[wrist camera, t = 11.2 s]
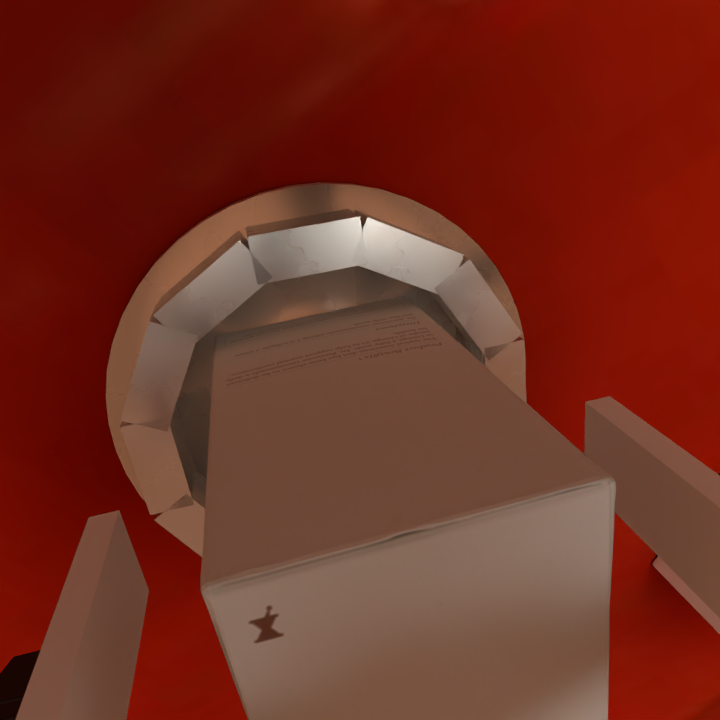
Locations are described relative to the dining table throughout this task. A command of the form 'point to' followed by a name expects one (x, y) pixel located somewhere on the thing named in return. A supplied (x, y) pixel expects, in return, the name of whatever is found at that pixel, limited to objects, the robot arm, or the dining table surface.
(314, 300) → the silver round shallow dish
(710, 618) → the milk
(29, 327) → the dining table surface
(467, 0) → the dining table surface
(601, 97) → the dining table surface
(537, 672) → the supplement box
